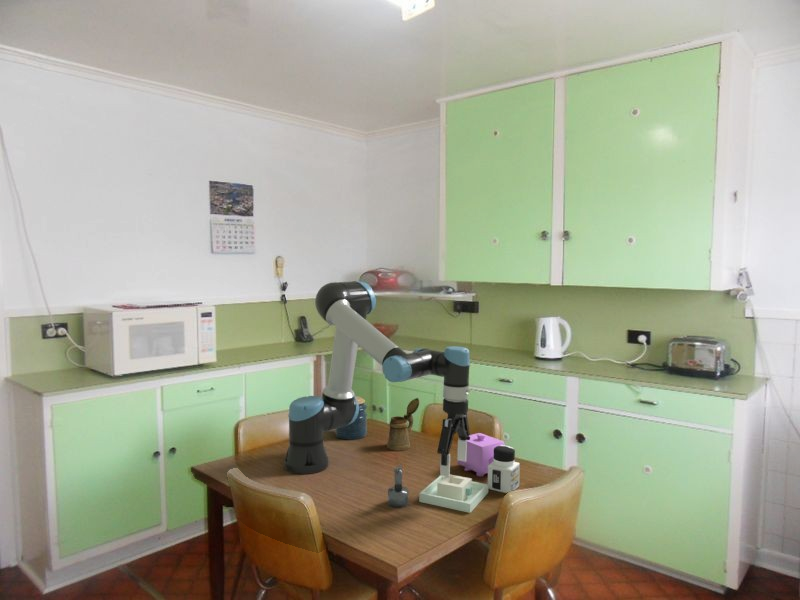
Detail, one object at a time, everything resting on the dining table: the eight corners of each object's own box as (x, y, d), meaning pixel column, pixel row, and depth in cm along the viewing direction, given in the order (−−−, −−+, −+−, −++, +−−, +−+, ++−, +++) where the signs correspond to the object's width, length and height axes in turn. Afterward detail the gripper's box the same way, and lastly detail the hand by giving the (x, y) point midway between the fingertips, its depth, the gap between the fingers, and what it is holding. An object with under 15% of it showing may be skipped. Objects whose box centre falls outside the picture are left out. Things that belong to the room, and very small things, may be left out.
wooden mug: (424, 446, 221) (425, 400, 220) (394, 452, 214) (394, 404, 213) (412, 440, 229) (412, 395, 227) (382, 445, 221) (382, 399, 220)
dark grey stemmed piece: (384, 505, 168) (384, 469, 167) (393, 497, 174) (394, 462, 173) (402, 509, 165) (402, 472, 165) (411, 501, 171) (412, 466, 170)
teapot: (453, 466, 200) (453, 430, 199) (474, 460, 206) (475, 426, 205) (493, 484, 184) (494, 446, 183) (515, 477, 190) (516, 440, 189)
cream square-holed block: (437, 497, 172) (437, 482, 172) (447, 488, 180) (447, 474, 179) (466, 503, 168) (466, 488, 168) (475, 493, 175) (475, 479, 175)
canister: (369, 430, 240) (369, 389, 239) (364, 440, 227) (364, 396, 226) (338, 429, 241) (338, 388, 240) (332, 439, 229) (331, 395, 227)
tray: (419, 501, 171) (419, 493, 171) (440, 483, 185) (440, 475, 185) (470, 512, 163) (470, 504, 163) (488, 492, 178) (488, 484, 177)
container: (510, 494, 176) (511, 453, 175) (487, 489, 180) (487, 448, 179) (519, 486, 183) (520, 446, 182) (496, 481, 187) (497, 441, 186)
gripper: (451, 410, 159) (449, 484, 161) (481, 391, 181) (479, 457, 183) (426, 406, 163) (425, 479, 164) (459, 388, 185) (457, 452, 187)
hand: (453, 467), depth 174 cm, fingers open, 13 cm apart
